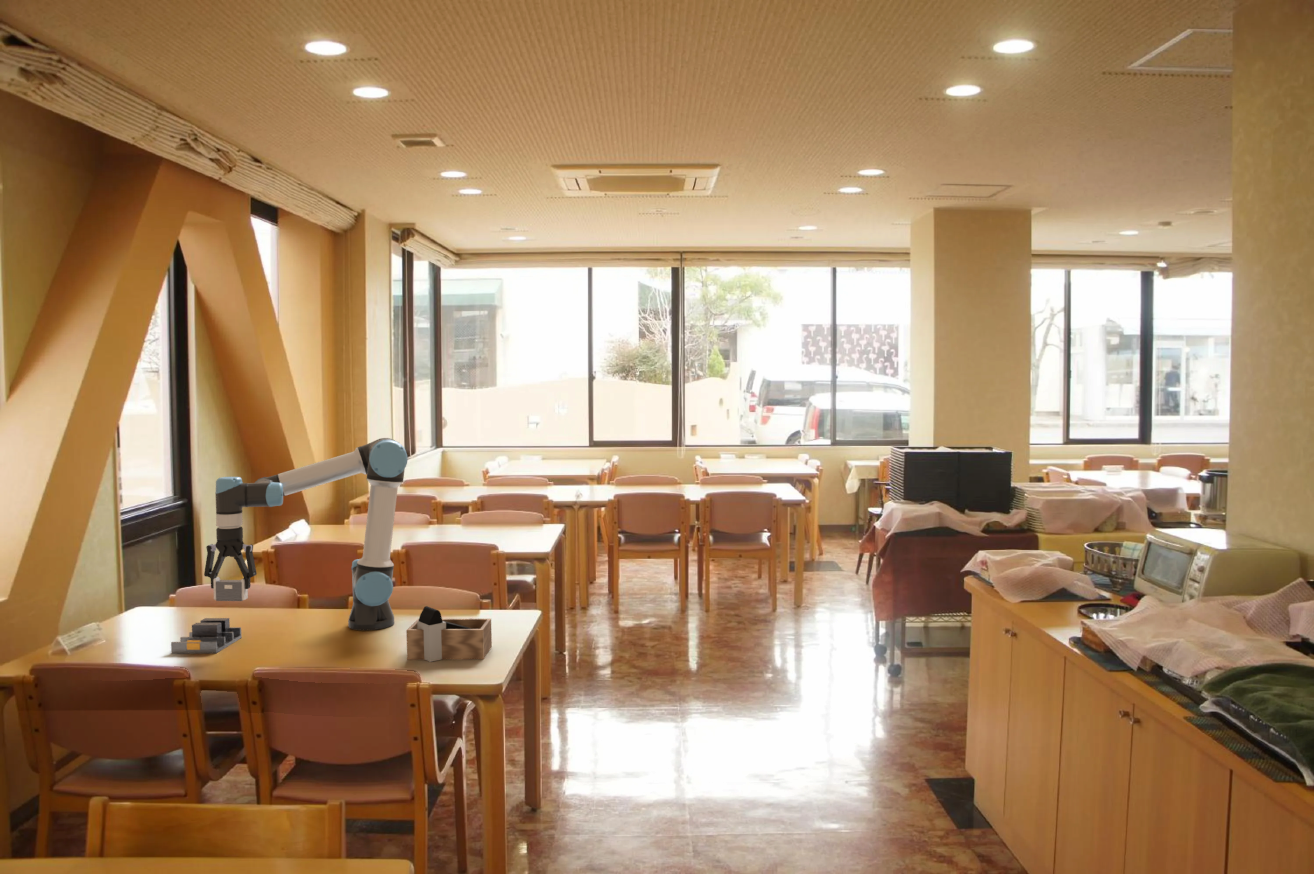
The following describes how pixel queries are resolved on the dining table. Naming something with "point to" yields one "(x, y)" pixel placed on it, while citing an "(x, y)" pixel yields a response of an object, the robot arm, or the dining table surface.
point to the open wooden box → (454, 640)
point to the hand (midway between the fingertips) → (230, 598)
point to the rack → (207, 637)
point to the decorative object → (434, 632)
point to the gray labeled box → (229, 590)
